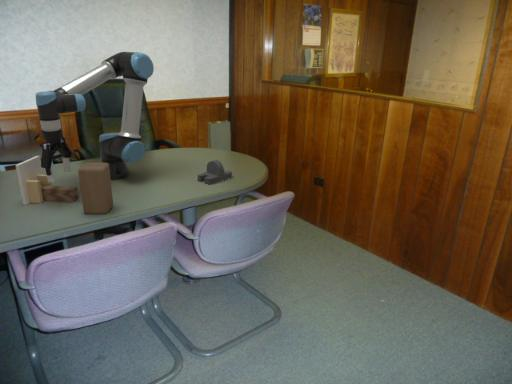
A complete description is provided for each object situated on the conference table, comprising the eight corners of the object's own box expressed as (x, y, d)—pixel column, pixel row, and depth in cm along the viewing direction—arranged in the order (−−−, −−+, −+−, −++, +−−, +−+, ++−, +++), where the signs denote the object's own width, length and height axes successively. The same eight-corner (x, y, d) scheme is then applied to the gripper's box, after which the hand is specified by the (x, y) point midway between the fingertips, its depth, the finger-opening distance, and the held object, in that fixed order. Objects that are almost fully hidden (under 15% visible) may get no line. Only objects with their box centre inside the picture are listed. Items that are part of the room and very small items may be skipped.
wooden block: (90, 205, 168) (85, 161, 161) (113, 205, 169) (109, 162, 162) (83, 214, 159) (76, 168, 152) (107, 214, 160) (102, 169, 153)
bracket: (232, 178, 212) (233, 159, 208) (209, 185, 199) (209, 165, 195) (220, 174, 218) (220, 155, 214) (196, 181, 205) (196, 162, 201)
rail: (78, 199, 174) (77, 186, 172) (74, 202, 170) (72, 189, 168) (40, 197, 175) (38, 183, 172) (34, 200, 171) (32, 187, 168)
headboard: (56, 193, 180) (50, 156, 173) (37, 205, 166) (30, 165, 159) (42, 192, 180) (36, 155, 174) (23, 204, 166) (15, 165, 159)
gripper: (58, 123, 173) (66, 167, 181) (24, 136, 150) (35, 186, 157) (74, 123, 172) (81, 168, 180) (43, 136, 149) (52, 187, 157)
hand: (60, 176), depth 169 cm, fingers open, 13 cm apart
